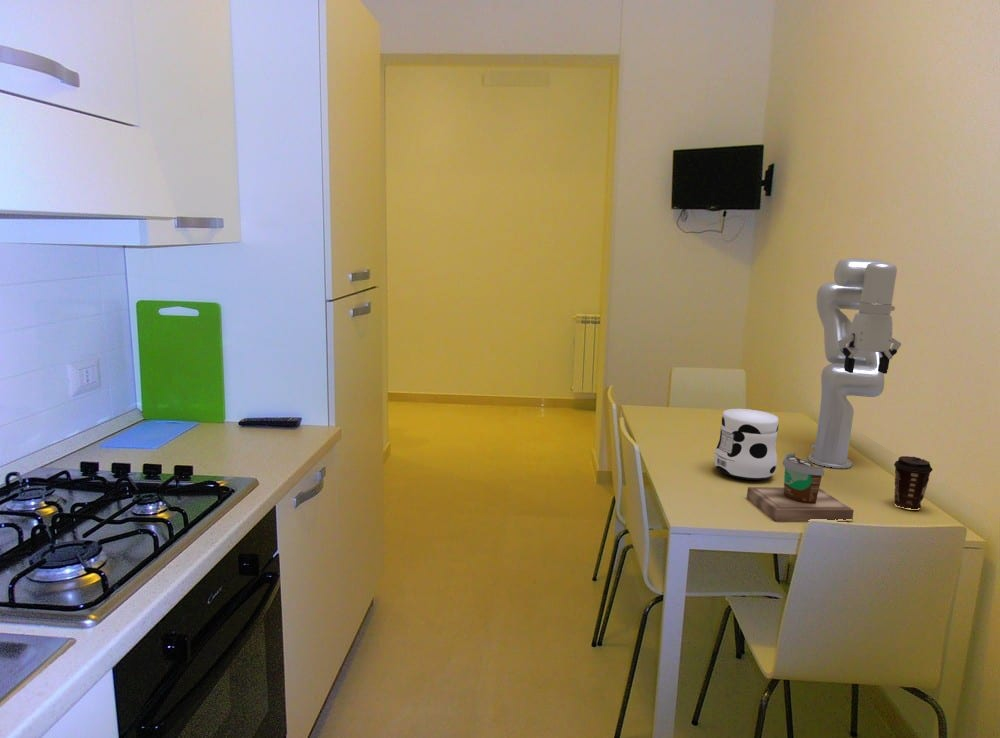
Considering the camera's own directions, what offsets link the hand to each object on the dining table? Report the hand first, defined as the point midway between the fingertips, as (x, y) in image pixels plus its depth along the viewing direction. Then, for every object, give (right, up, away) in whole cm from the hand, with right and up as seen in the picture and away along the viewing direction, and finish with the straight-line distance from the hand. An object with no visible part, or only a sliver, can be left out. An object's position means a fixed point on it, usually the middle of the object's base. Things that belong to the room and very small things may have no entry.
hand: (865, 372), depth 198 cm
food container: (-24, -32, -11) cm, 42 cm away
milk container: (-28, -30, +15) cm, 44 cm away
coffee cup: (+9, -36, -5) cm, 37 cm away
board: (-23, -35, -11) cm, 43 cm away
